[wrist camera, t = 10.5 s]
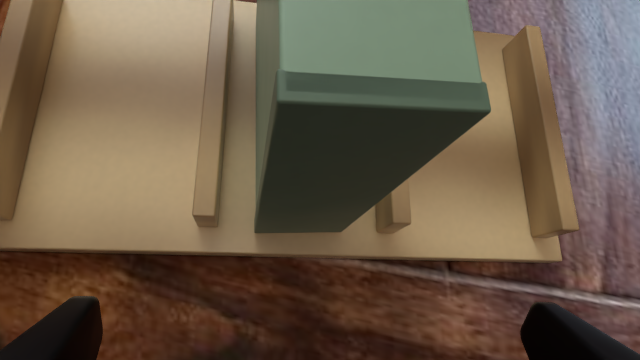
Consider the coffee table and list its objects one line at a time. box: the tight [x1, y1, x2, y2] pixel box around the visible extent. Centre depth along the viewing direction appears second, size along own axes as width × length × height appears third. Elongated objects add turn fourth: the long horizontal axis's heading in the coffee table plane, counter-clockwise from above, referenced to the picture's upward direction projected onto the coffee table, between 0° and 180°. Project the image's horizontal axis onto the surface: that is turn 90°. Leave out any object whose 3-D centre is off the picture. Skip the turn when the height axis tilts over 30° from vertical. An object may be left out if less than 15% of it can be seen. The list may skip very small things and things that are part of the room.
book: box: [254, 0, 491, 233], centre depth 13 cm, size 10×4×11 cm, turn 3°
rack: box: [0, 0, 579, 263], centre depth 18 cm, size 12×24×3 cm, turn 90°
